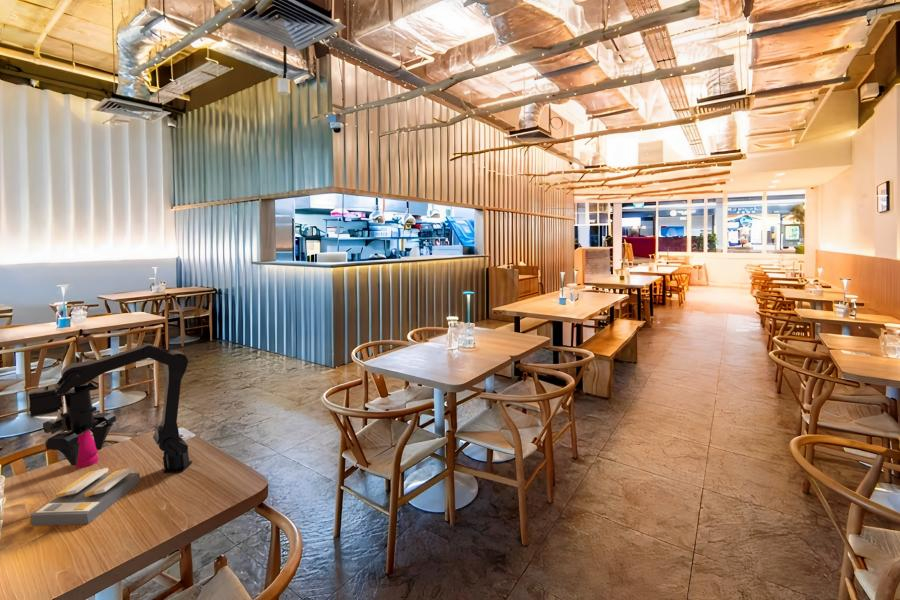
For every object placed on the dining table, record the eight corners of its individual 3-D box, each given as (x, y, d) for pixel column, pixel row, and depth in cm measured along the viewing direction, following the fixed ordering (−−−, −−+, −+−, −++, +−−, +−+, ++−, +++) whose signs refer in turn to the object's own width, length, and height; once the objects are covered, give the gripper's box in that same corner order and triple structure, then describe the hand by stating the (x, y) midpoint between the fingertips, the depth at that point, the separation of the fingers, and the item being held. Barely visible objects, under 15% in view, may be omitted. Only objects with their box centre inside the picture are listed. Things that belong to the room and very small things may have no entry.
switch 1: (108, 470, 136) (107, 467, 136) (76, 492, 124) (75, 489, 124) (90, 474, 136) (89, 471, 136) (56, 497, 124) (55, 494, 124)
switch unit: (140, 481, 138) (138, 470, 137) (88, 523, 118) (86, 511, 117) (92, 483, 138) (90, 472, 137) (32, 525, 117) (29, 513, 117)
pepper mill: (84, 469, 146) (76, 412, 143) (67, 467, 148) (58, 411, 145) (105, 458, 153) (98, 404, 150) (89, 457, 155) (81, 403, 152)
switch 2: (134, 469, 136) (133, 466, 136) (105, 491, 124) (103, 488, 124) (116, 474, 136) (115, 471, 136) (85, 496, 124) (83, 493, 124)
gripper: (77, 396, 136) (84, 443, 138) (20, 421, 117) (30, 475, 120) (114, 395, 136) (120, 442, 138) (62, 419, 118) (71, 473, 120)
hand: (87, 457), depth 129 cm, fingers open, 9 cm apart
